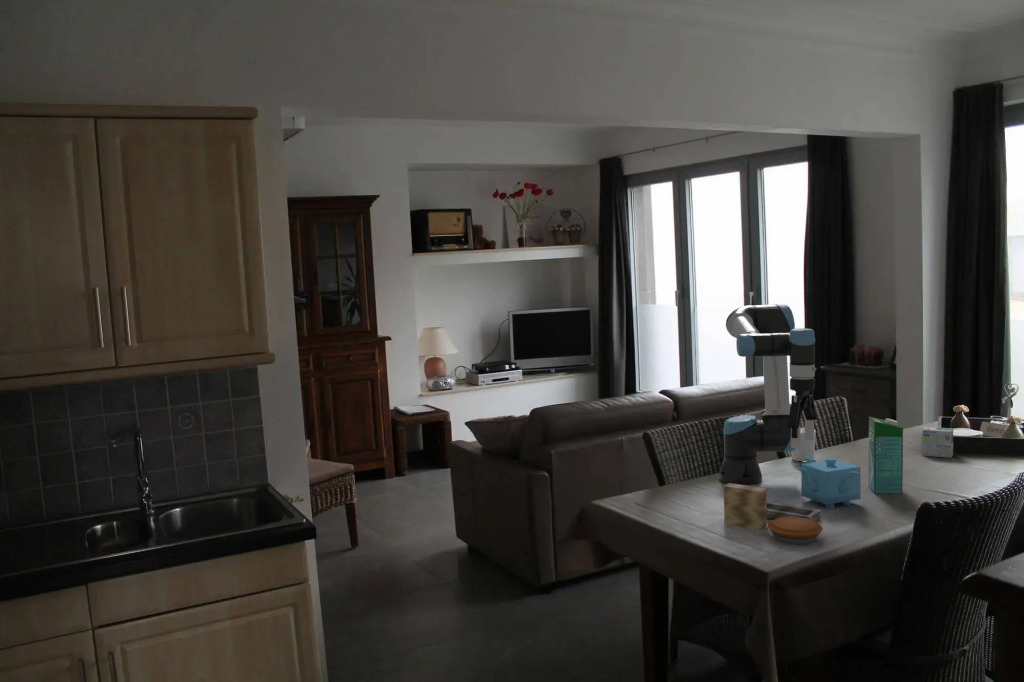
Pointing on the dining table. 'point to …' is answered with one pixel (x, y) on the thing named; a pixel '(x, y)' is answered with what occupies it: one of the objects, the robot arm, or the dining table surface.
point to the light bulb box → (937, 442)
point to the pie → (795, 530)
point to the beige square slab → (745, 506)
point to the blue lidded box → (830, 481)
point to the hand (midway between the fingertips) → (802, 444)
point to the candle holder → (804, 447)
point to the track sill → (791, 512)
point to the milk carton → (885, 456)
